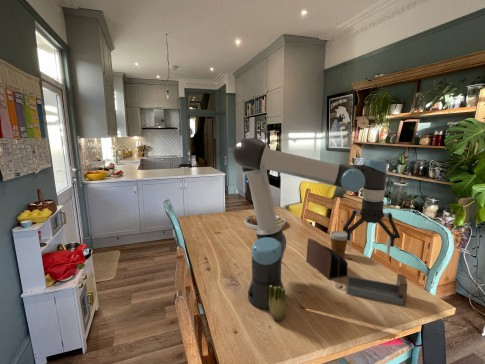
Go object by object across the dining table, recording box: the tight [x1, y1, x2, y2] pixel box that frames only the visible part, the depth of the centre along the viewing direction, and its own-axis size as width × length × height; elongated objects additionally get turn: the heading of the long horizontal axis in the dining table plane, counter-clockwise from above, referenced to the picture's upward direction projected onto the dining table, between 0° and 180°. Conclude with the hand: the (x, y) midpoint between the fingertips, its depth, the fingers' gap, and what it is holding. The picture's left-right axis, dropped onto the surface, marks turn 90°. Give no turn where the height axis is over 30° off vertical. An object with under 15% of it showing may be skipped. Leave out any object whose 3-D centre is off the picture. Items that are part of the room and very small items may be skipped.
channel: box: [345, 273, 408, 307], centre depth 105 cm, size 10×21×9 cm, turn 66°
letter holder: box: [306, 238, 349, 281], centre depth 126 cm, size 10×20×14 cm, turn 16°
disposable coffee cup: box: [329, 230, 348, 258], centre depth 141 cm, size 10×10×12 cm
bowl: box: [244, 214, 286, 231], centre depth 190 cm, size 30×30×8 cm
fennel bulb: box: [268, 285, 287, 321], centre depth 92 cm, size 6×5×12 cm
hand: (368, 250), depth 104 cm, fingers open, 13 cm apart
